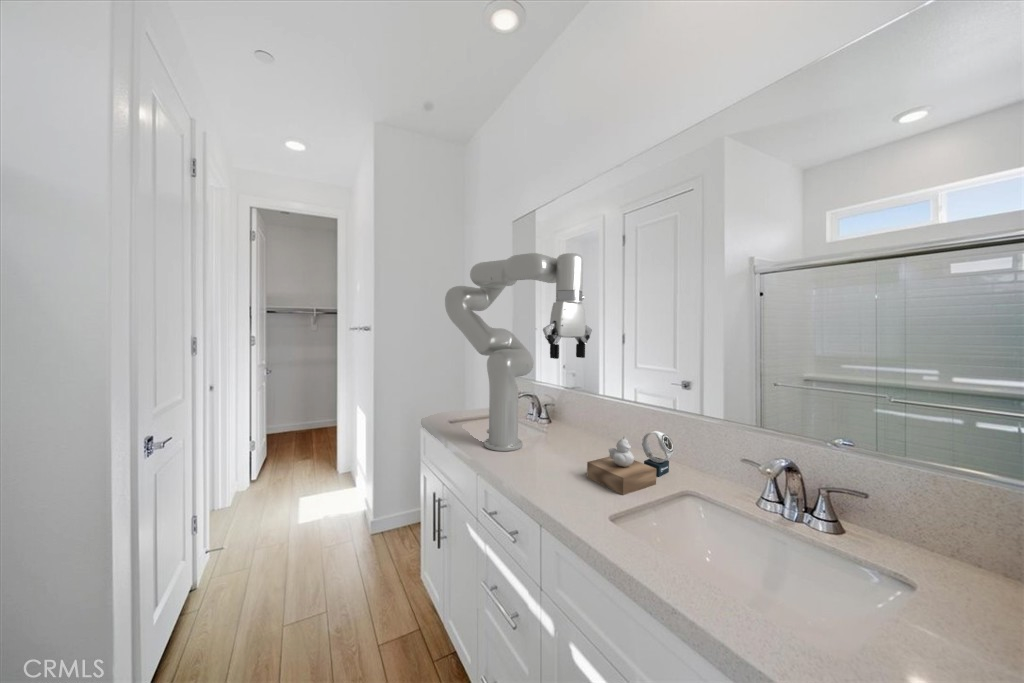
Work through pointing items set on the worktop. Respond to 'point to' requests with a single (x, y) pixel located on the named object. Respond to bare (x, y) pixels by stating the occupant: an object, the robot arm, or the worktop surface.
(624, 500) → the worktop surface
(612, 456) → the rubber duck
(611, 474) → the walnut base
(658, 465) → the watch
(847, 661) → the worktop surface
